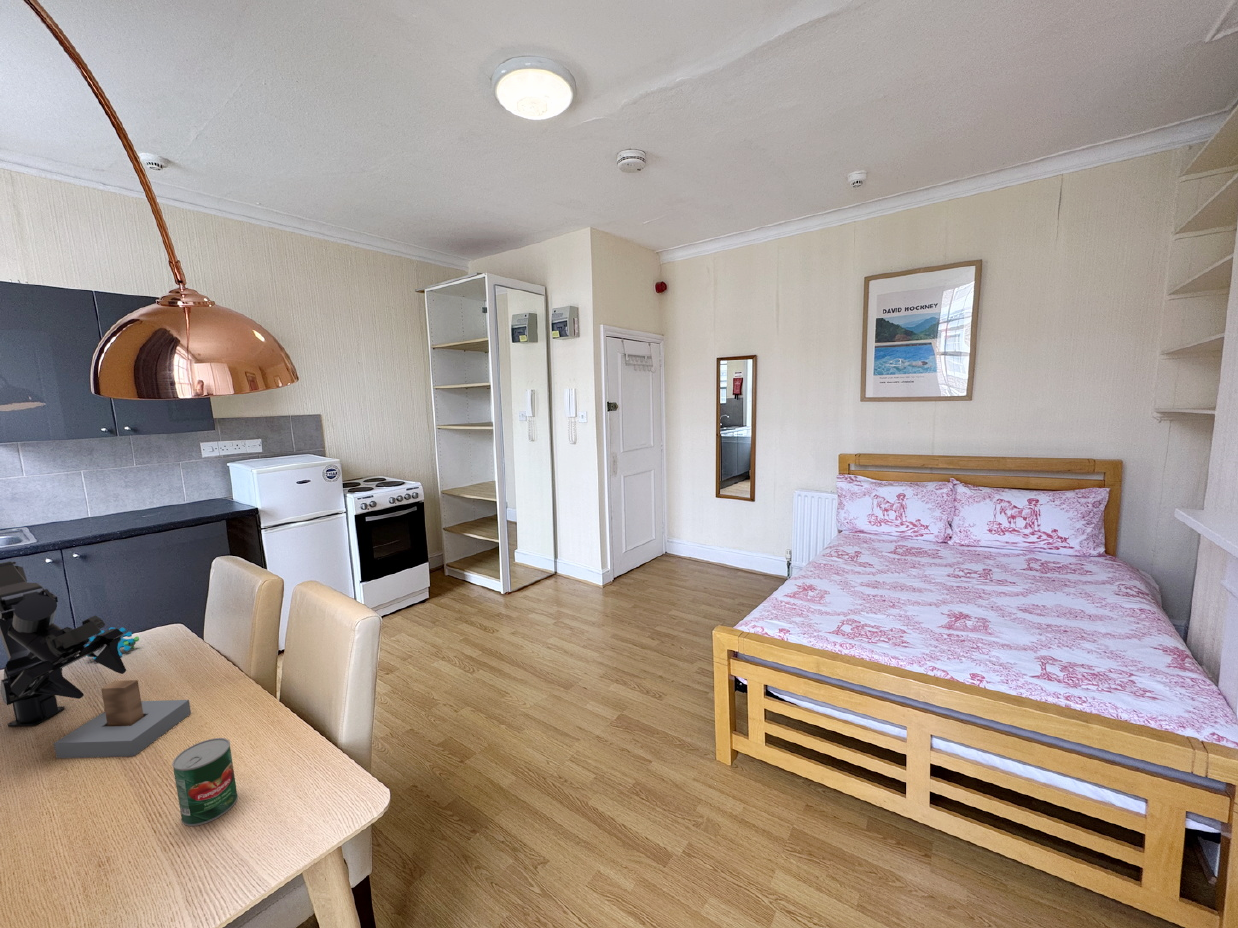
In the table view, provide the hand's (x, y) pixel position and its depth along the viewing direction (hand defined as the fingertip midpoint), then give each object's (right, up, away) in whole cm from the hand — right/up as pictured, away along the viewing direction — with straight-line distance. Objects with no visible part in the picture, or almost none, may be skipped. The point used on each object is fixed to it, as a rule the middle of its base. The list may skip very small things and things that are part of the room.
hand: (104, 684), depth 108 cm
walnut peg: (+4, -12, +2) cm, 13 cm away
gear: (-35, -8, +37) cm, 52 cm away
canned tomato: (+39, -14, -19) cm, 46 cm away
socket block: (+4, -12, +1) cm, 13 cm away
